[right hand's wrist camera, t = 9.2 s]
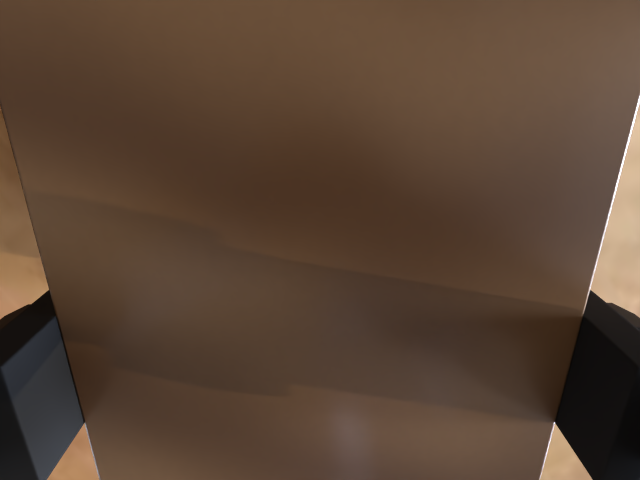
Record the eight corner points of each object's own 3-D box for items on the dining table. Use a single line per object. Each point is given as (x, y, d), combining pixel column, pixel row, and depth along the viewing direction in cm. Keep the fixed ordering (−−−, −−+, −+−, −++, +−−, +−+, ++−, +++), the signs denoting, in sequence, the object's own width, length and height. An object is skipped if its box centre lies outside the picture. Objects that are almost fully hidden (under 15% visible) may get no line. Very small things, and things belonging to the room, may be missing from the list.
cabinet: (171, -161, 15) (-246, -812, 4) (467, -161, 15) (883, -812, 4) (217, 288, 21) (108, 518, 10) (422, 288, 21) (531, 518, 10)
